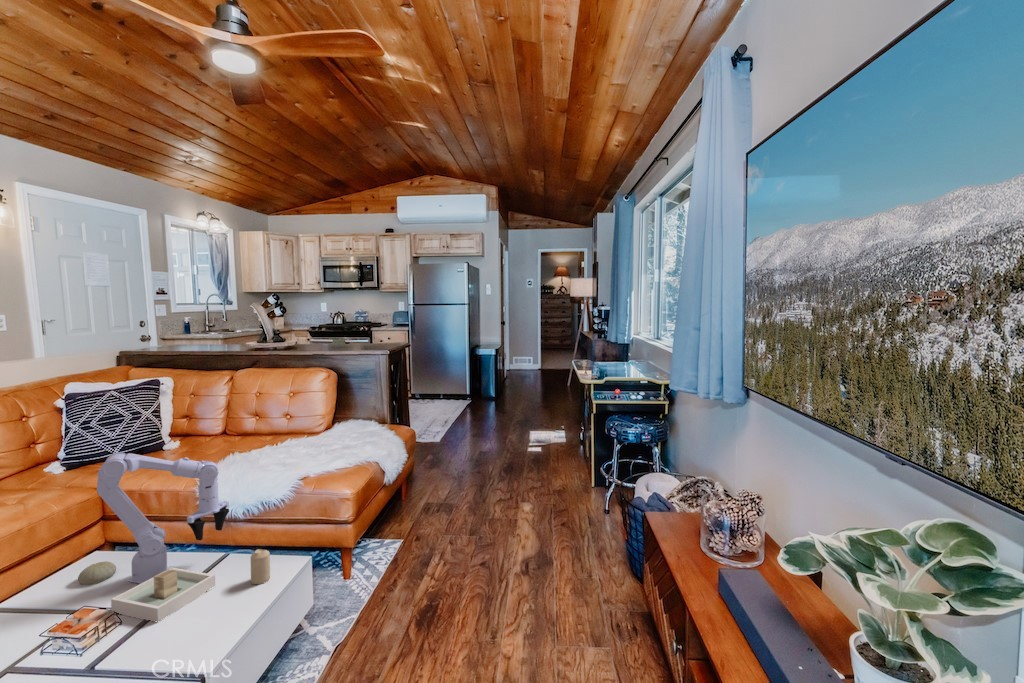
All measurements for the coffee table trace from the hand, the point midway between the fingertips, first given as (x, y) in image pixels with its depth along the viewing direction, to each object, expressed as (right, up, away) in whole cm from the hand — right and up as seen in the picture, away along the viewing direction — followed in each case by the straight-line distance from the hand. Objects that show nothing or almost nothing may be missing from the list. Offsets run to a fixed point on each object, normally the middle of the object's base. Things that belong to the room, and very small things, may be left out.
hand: (209, 534), depth 157 cm
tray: (+1, -11, -21) cm, 23 cm away
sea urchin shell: (-31, -11, -9) cm, 34 cm away
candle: (+24, -11, -10) cm, 28 cm away
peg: (+1, -11, -21) cm, 23 cm away
